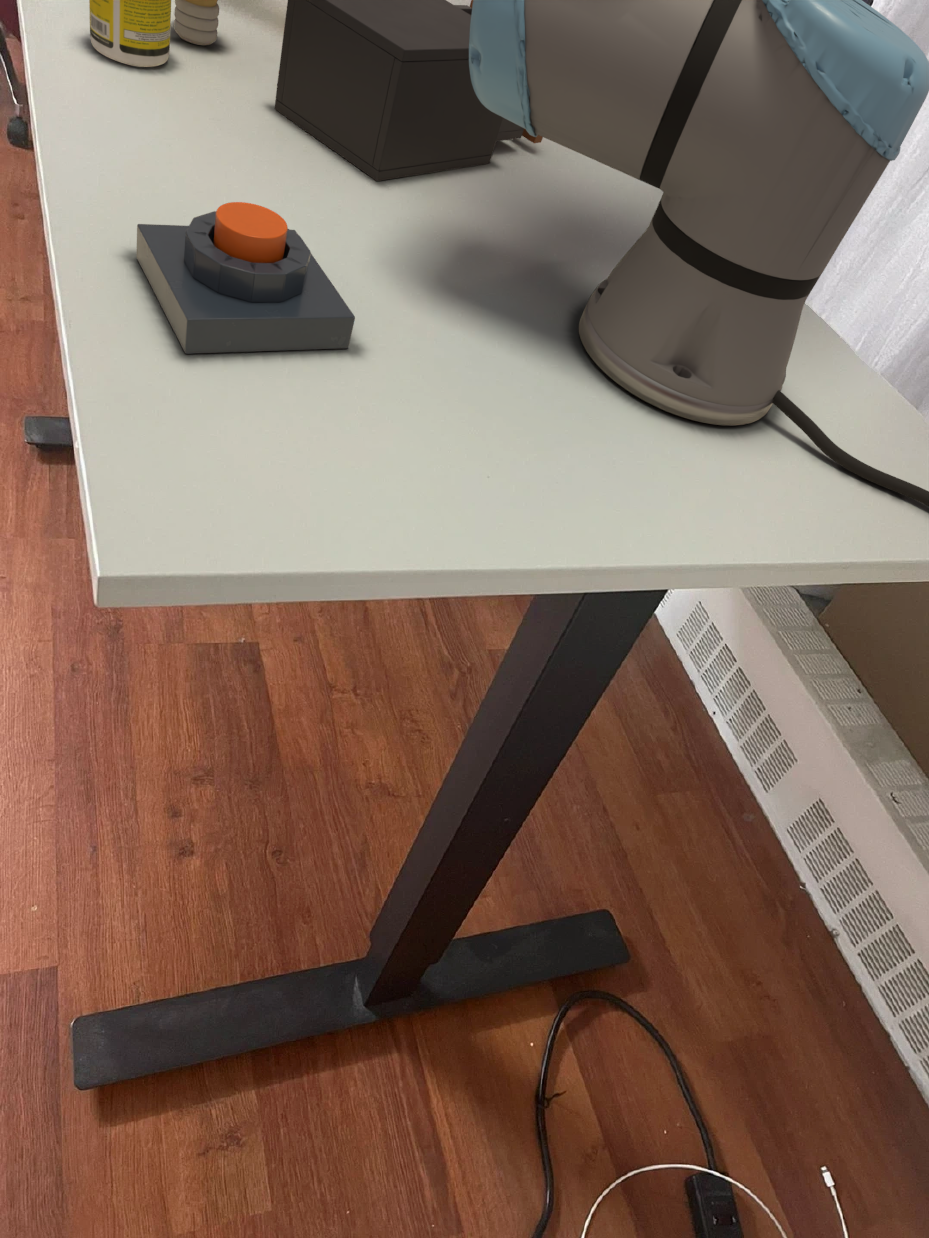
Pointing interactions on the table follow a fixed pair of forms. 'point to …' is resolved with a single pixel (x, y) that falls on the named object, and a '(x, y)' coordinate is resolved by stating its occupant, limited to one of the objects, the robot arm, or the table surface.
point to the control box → (240, 293)
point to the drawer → (507, 127)
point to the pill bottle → (131, 30)
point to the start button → (250, 232)
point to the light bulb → (197, 20)
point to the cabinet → (385, 84)
